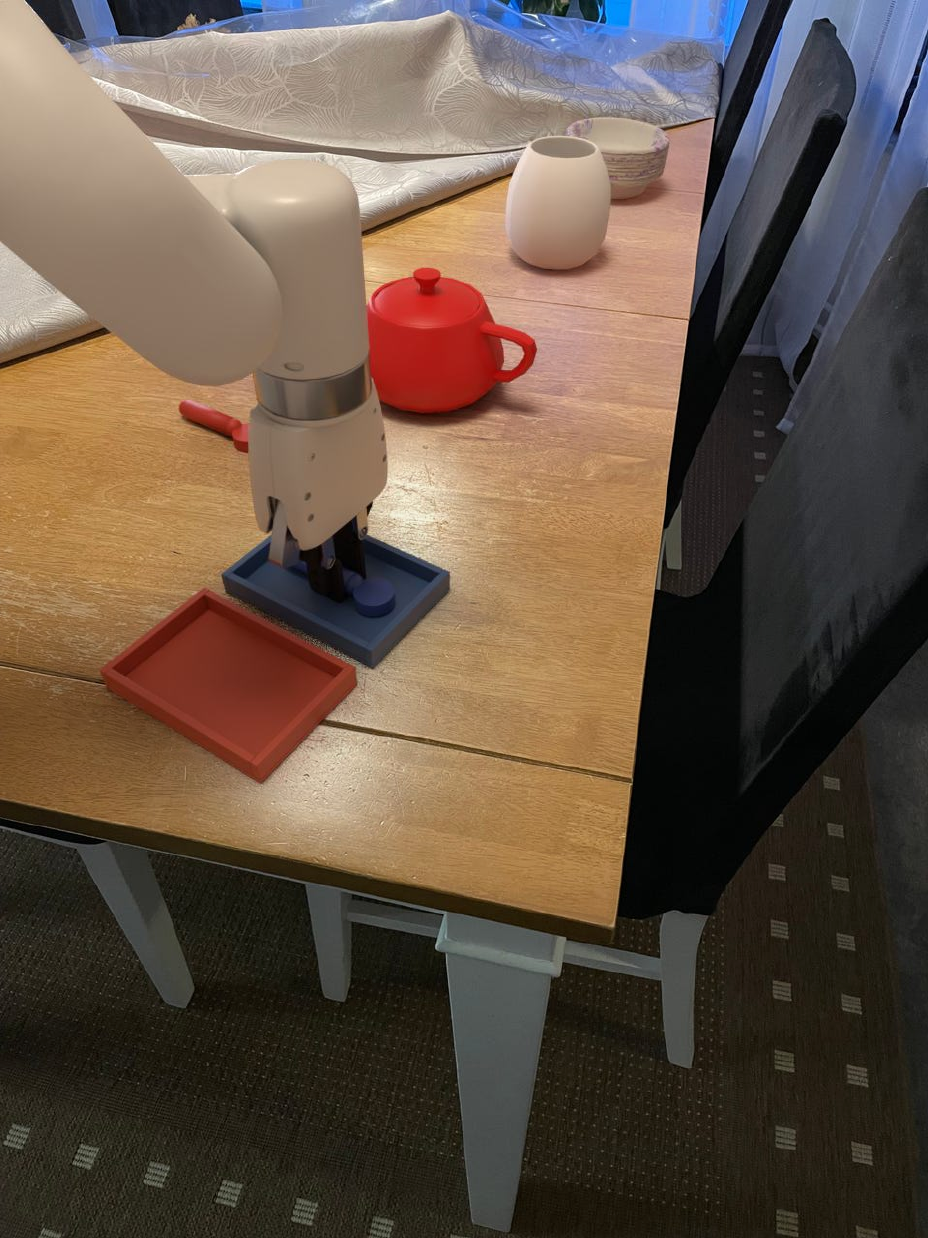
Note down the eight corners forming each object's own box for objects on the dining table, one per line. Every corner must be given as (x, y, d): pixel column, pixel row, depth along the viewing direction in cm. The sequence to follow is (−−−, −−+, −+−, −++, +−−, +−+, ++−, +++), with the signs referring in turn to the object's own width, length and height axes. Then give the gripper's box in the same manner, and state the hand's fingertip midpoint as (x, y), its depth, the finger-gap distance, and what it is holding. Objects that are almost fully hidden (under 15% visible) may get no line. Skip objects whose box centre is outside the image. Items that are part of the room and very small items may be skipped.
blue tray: (225, 591, 70) (220, 573, 68) (308, 524, 76) (306, 506, 74) (372, 668, 64) (371, 651, 63) (450, 589, 70) (450, 571, 69)
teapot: (559, 378, 93) (570, 265, 85) (500, 453, 84) (506, 334, 75) (356, 327, 101) (347, 218, 92) (279, 391, 91) (262, 275, 82)
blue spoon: (273, 570, 71) (270, 553, 69) (299, 548, 73) (296, 532, 71) (378, 622, 67) (377, 605, 65) (403, 598, 69) (402, 581, 67)
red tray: (106, 687, 62) (98, 670, 61) (208, 604, 69) (204, 586, 67) (261, 783, 57) (256, 766, 56) (357, 684, 63) (355, 666, 62)
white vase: (622, 270, 113) (639, 157, 103) (530, 286, 109) (538, 171, 99) (574, 231, 121) (585, 124, 112) (487, 245, 118) (491, 135, 108)
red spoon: (171, 420, 87) (167, 404, 85) (195, 406, 89) (191, 390, 87) (252, 456, 83) (249, 439, 81) (274, 440, 85) (272, 424, 83)
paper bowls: (675, 204, 129) (686, 146, 123) (576, 210, 127) (582, 150, 121) (642, 168, 139) (650, 113, 134) (549, 173, 137) (554, 117, 132)
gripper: (344, 313, 63) (362, 516, 76) (180, 414, 53) (233, 625, 66) (430, 342, 60) (433, 547, 73) (274, 454, 50) (310, 667, 63)
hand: (338, 583), depth 69 cm, fingers closed on blue spoon, 2 cm apart
